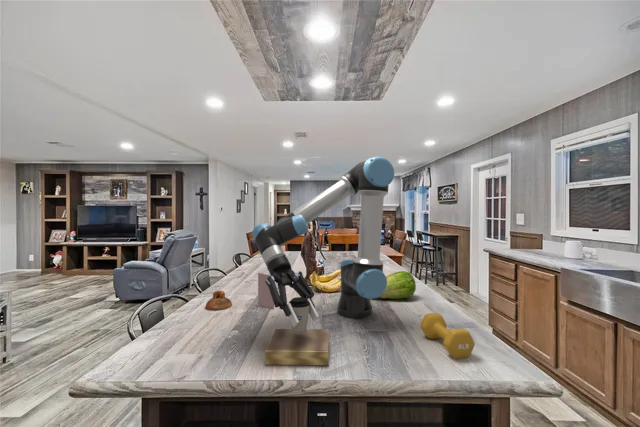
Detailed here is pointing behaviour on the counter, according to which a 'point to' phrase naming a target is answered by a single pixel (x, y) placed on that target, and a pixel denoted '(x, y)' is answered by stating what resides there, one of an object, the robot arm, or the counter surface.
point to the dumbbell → (448, 336)
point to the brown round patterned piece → (218, 302)
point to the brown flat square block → (298, 348)
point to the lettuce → (399, 285)
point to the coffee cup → (300, 314)
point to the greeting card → (264, 292)
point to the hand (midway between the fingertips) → (306, 321)
